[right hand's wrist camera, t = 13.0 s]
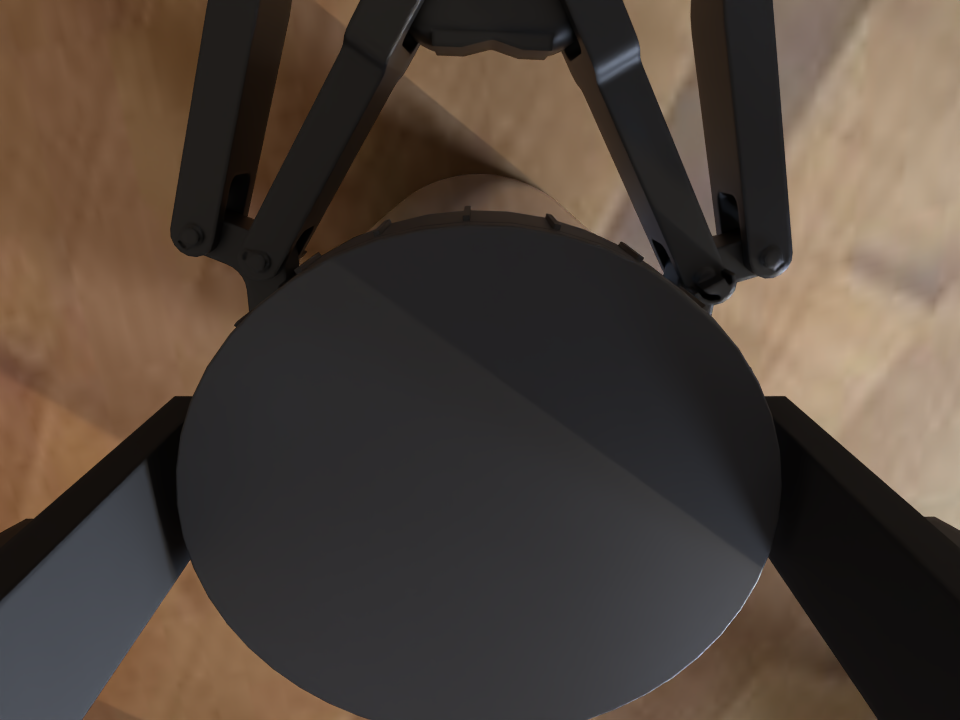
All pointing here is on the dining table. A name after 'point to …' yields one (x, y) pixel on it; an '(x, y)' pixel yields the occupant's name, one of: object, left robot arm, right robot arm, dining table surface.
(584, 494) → the lid
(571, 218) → the jar
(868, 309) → the dining table surface
